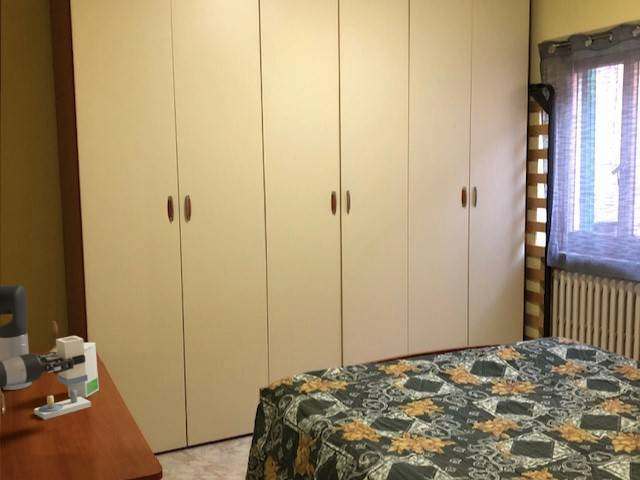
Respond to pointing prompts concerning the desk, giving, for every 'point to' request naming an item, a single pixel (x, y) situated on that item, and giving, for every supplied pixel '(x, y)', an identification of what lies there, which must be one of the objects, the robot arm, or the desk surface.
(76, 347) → the sleeve
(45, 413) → the pin board
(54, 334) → the hand bell
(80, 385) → the skincare box
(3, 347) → the robot arm
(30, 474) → the desk surface
